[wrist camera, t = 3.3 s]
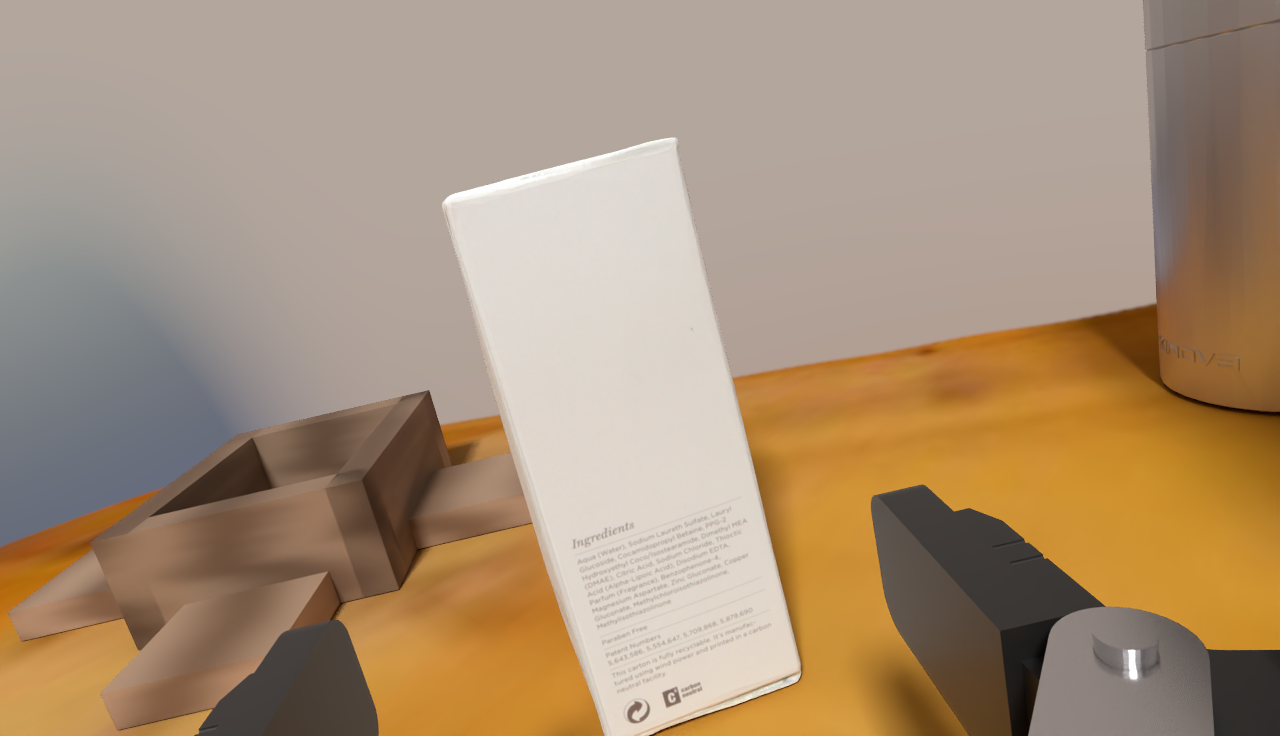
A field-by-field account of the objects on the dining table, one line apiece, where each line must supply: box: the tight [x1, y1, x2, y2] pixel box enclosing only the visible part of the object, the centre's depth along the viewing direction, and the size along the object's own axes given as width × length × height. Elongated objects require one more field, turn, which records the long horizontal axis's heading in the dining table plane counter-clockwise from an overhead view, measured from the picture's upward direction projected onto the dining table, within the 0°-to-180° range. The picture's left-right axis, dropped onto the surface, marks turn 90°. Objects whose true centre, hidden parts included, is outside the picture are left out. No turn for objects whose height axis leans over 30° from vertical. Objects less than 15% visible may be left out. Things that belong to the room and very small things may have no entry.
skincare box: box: [442, 138, 802, 736], centre depth 22 cm, size 8×6×15 cm
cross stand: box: [8, 390, 532, 730], centre depth 37 cm, size 26×24×5 cm
